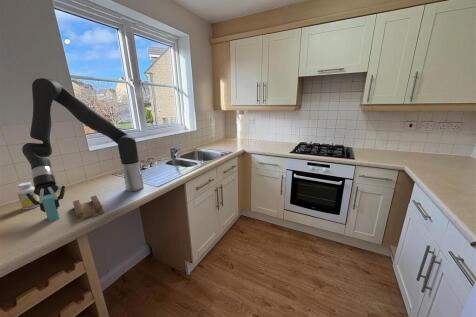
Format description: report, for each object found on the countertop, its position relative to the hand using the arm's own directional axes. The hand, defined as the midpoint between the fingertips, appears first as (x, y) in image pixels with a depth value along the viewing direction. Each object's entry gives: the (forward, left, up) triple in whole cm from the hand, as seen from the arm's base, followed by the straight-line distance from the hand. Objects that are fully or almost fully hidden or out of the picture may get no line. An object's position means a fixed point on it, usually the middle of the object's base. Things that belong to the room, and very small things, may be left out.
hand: (50, 209), depth 90 cm
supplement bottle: (+8, -24, -5) cm, 26 cm away
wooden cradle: (-13, +1, -5) cm, 14 cm away
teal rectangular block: (0, -2, -5) cm, 6 cm away
